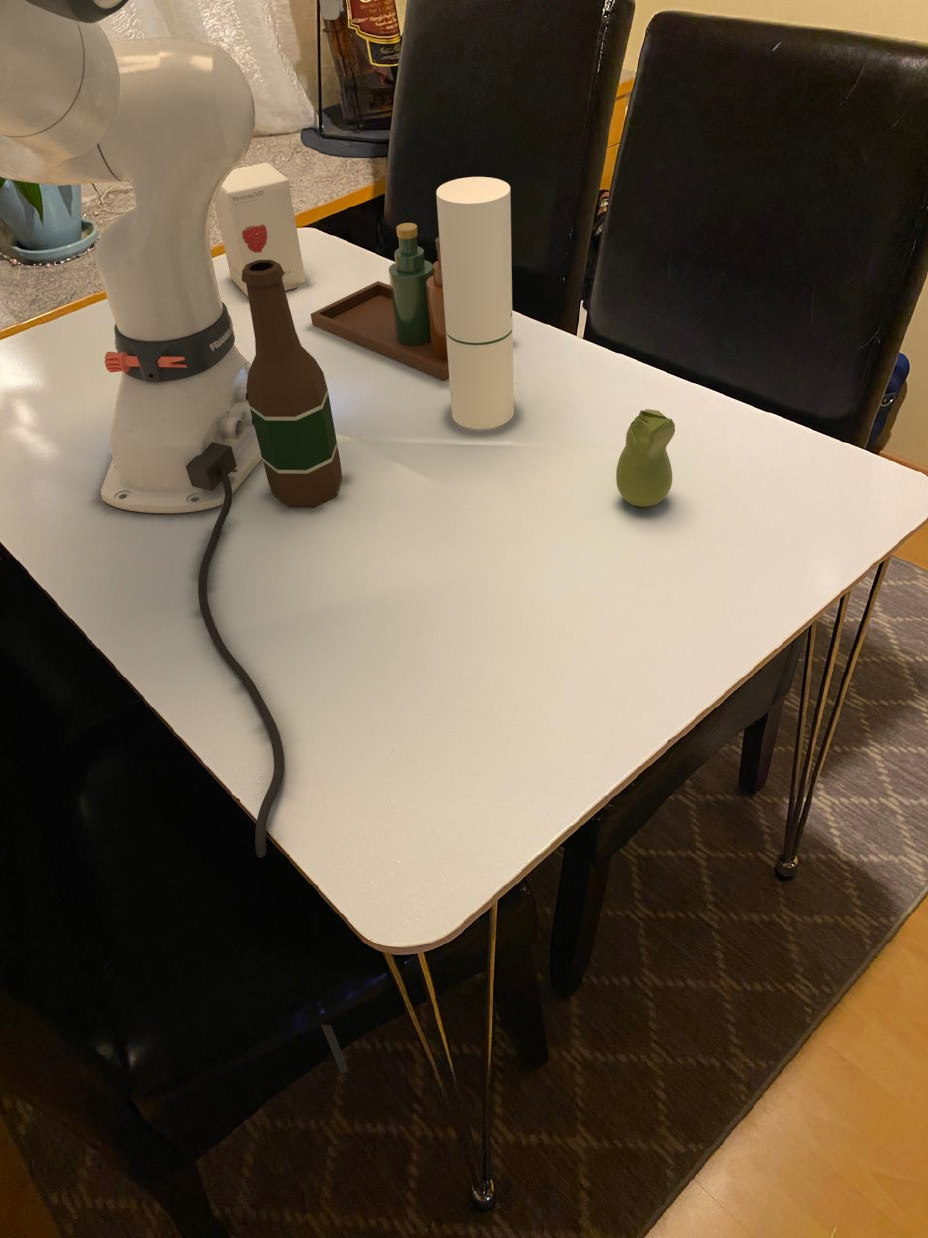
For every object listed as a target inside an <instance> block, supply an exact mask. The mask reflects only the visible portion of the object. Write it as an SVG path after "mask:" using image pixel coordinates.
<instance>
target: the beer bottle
mask: <svg viewBox="0 0 928 1238" xmlns="http://www.w3.org/2000/svg"><path fill="white" fill-rule="evenodd" d="M283 275H284V271H283V269H282V267H281V265H280V264H279V263H277V262H275V261H273V260H257V261H254V262H251V263H248V264H246V265H245V267H244V269H243V270H242V281H243V282H244V283H246V285H247V292H248V297H247V298H248V303H249V310H250V316H251V322H252V327H253V328H252V329H253V335H254V344H255V345H254V347H255V356H254V358H253V360H252V362H251V367H250V370H249V372H248V379H247V386H246V389H247V396H248V402H249V407H250V411H251V415H252V419H253V423H254V427H255V431H256V435H257V439H258V443H259V447H260V451H261V455H262V459H261V460H262V463H263V467H264V471H265V475H266V479H267V483H268V486H269V489H270V492H271V494H272V495H273V496H274V497H275V498H276V499H277V500H278V501H280V502H281V503H282V504H284V505H285V506H286V507H287V508H290V509H291V508H293V509H295V508H297V509H299V508H300V509H301V508H302V509H309V508H310V509H315V508H316V507H319V506H321V505H323V504H324V503H327V502H329V501H331V500H333V499H335V498H337V496H338V494H339V490H340V487H341V483H342V480H343V474H342V473H343V472H342V463H341V457H340V451H339V446H338V439H337V436H336V429H335V423H334V418H333V413H332V412H333V411H332V406H331V401H330V395H329V389H328V385H327V381H326V378H325V373H324V371H323V369H321V366H320V365H319V363H318V361H317V360H316V358H315V357H314V356H313V355H311V353H310V352H308V351H307V350H306V349H305V347H303V346H302V344H301V342H300V338H299V336H298V334H297V330H296V326H295V323H294V320H293V316H292V312H291V308H290V304H289V299H288V297H287V291H285V289H284V285H283V281H282V277H283Z"/></svg>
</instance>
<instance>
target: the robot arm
mask: <svg viewBox="0 0 928 1238" xmlns="http://www.w3.org/2000/svg"><path fill="white" fill-rule="evenodd" d="M129 1H130V0H0V178H3V179H6V180H12V181H18V182H23V183H24V182H25V183H30V184H39V185H47V186H57V187H61V186H77V185H79V186H80V185H90V184H91V185H93V184H105V183H106V184H108V183H129V184H130V185H131V187H132V190H133V193H134V198H135V203H136V204H135V205H136V206H135V207H134V208H132V209H131V210H130V211H127V212H126V213H125V214H123V215H122V216H120V217H118V218H117V220H115V221H114V222H113V223H111V224H110V225H109V226H108V227H107V228H106V229H105V230H104V231H103V232H102V234H100V237H99V239H98V241H97V244H96V247H95V248H96V249H95V255H94V256H95V258H94V259H95V267H96V271H97V273H98V275H99V279H100V282H101V285H102V287H103V291H104V294H105V296H106V298H107V303H108V305H109V308H110V310H111V311H110V312H111V313H112V316H113V319H114V323H115V324H114V326H113V329H114V345H115V350H116V351H107V352H106V353H105V355H104V365H105V368H106V370H107V371H108V372H109V373H117V372H121V375H120V381H119V385H118V389H117V395H116V400H115V406H114V411H113V416H112V421H111V427H110V433H109V438H108V439H109V448H110V452H111V456H112V459H111V462H110V464H109V467H108V470H107V473H106V475H105V477H104V481H103V483H102V485H101V489H100V496H101V499H102V501H103V502H105V503H106V504H108V505H109V506H112V507H115V508H117V509H121V510H125V511H131V512H137V513H151V514H183V513H193V512H200V511H205V510H209V509H212V508H213V509H214V508H216V507H219V506H221V505H222V507H221V510H220V512H219V514H218V517H217V519H216V521H215V524H214V527H213V529H212V533H211V535H210V538H209V541H208V543H207V546H206V548H205V550H204V554H203V556H202V559H201V563H200V567H199V572H198V581H197V582H198V583H197V591H198V592H197V593H198V594H197V595H198V603H199V609H200V612H201V616H202V619H203V621H204V625H205V627H206V629H207V632H208V634H209V636H210V639H211V641H212V643H213V645H214V646H215V648H216V650H217V652H218V653H219V655H220V656H221V657H222V658H223V661H225V662H226V664H227V666H229V667H230V669H231V670H232V671H233V672H234V673H235V674H236V676H237V677H238V678H239V680H240V681H241V683H242V684H243V686H244V688H246V690H247V692H248V694H249V696H250V698H251V700H252V701H253V703H254V706H255V708H256V709H257V711H258V713H259V715H260V717H261V719H262V721H263V723H264V725H265V727H266V730H267V732H268V736H269V739H270V743H271V747H272V754H273V774H272V777H271V781H270V783H269V786H268V789H267V791H266V793H265V795H264V798H263V799H262V802H261V805H260V807H259V810H258V814H257V818H256V823H255V832H254V833H255V834H254V841H255V842H254V844H255V845H254V847H255V856H256V857H258V858H259V859H260V858H263V857H265V856H266V855H267V851H268V849H267V839H266V838H267V826H266V825H267V824H268V819H269V815H270V812H271V810H272V807H273V805H274V803H275V800H276V798H277V795H278V793H279V792H280V788H281V786H282V782H283V779H284V774H285V773H284V772H285V757H284V754H285V753H284V747H283V742H282V739H281V735H280V732H279V729H278V726H277V724H276V722H275V719H274V717H273V716H272V713H271V712H270V710H269V708H268V705H267V704H266V702H265V701H264V700H265V699H264V698H263V696H262V695H261V693H260V691H259V688H258V687H257V686H256V684H255V683H254V681H253V679H252V678H251V676H250V675H249V673H247V671H246V670H245V668H243V666H242V665H241V664H240V663H239V661H238V660H237V658H235V657H234V655H233V654H232V653H231V652H230V651H229V649H228V648H227V646H226V644H225V643H224V641H223V638H222V637H221V635H220V633H219V631H218V628H217V626H216V624H215V621H214V618H213V616H212V612H211V609H210V606H209V599H208V591H207V590H208V586H207V585H208V584H207V582H208V580H207V579H208V571H209V568H210V567H209V566H210V563H211V560H212V557H213V554H214V552H215V550H216V547H217V544H218V542H219V538H220V535H221V533H222V530H223V528H224V524H225V522H226V521H227V518H228V516H229V513H230V511H231V508H232V503H233V494H234V493H235V492H236V491H237V489H238V488H239V487H240V486H241V485H242V483H243V482H244V481H245V480H247V479H246V478H248V476H249V475H250V474H251V473H252V471H253V470H255V468H256V467H257V466H258V465H259V463H260V462H261V460H263V459H262V455H261V451H260V447H259V443H258V439H257V435H256V431H255V427H254V423H253V419H252V415H251V411H250V407H249V402H248V396H247V389H246V386H247V379H248V372H249V370H250V367H251V365H252V363H251V362H250V361H249V360H247V358H246V357H245V356H244V355H243V354H242V352H241V351H240V350H239V349H238V347H237V346H236V345H235V342H236V336H235V331H234V324H233V320H232V317H231V315H230V313H229V310H228V307H227V305H226V303H224V302H223V301H222V297H221V293H220V290H219V285H218V281H217V277H216V271H215V266H214V260H213V254H212V248H211V239H210V225H211V216H212V212H213V207H214V205H215V204H214V201H215V198H216V196H217V194H218V192H219V189H220V187H221V186H222V184H223V182H224V181H225V179H226V178H227V176H228V175H229V174H230V173H231V171H232V170H233V169H236V167H238V165H239V164H240V163H241V162H242V161H243V160H244V158H245V156H246V155H247V153H248V151H249V150H250V146H251V144H252V142H253V138H254V134H255V128H256V108H255V101H254V97H253V96H254V95H253V93H252V89H251V87H250V84H249V82H248V80H247V78H246V76H245V74H244V72H243V70H242V68H241V67H240V65H239V64H238V63H237V61H236V60H235V59H234V58H233V57H232V56H231V54H230V53H229V52H228V51H226V49H224V48H223V47H222V46H221V45H219V44H213V43H209V42H203V41H198V40H192V39H185V38H184V39H183V38H176V37H170V36H163V37H147V38H131V39H119V40H109V38H108V37H107V35H106V33H105V31H104V29H103V28H102V27H101V26H100V24H99V23H98V22H100V21H103V20H104V19H106V18H107V17H109V16H111V15H113V14H115V13H117V12H118V11H120V10H121V9H122V8H123V7H124V6H125V5H127V4H128V2H129ZM319 6H320V14H321V17H322V18H323V19H324V20H326V21H327V20H328V21H329V20H330V21H335V20H337V19H339V18H341V17H343V16H344V14H345V8H344V0H319ZM320 1026H321V1028H322V1031H323V1033H324V1036H325V1038H326V1040H327V1042H328V1045H329V1047H330V1049H331V1052H332V1054H333V1057H334V1059H335V1062H336V1064H337V1067H338V1069H339V1072H340V1073H341V1074H346V1073H347V1072H348V1070H349V1068H348V1065H347V1062H346V1060H345V1057H344V1055H343V1052H342V1050H341V1047H340V1045H339V1042H338V1040H337V1037H336V1034H335V1033H334V1030H333V1028H332V1025H329V1024H320Z"/></svg>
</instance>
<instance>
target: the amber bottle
mask: <svg viewBox="0 0 928 1238" xmlns="http://www.w3.org/2000/svg"><path fill="white" fill-rule="evenodd" d="M435 249H436V250H437V252H436V253H437V261H434V262H433V264H432V266H433V276H431V277H429V278H428V279H427V281H426V288H427V300H428V312H429V324H430V336H431V348H432V354H433V355H434V356H435V357H436V358H438V359H441V360H447V361H448V353H447V338H446V324H445V310H444V296H443V281H442V267H441V253H440V239H439V236H438V237H436V238H435Z"/></svg>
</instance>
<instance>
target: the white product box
mask: <svg viewBox="0 0 928 1238" xmlns="http://www.w3.org/2000/svg"><path fill="white" fill-rule="evenodd" d="M292 199H293V198H292V192H291V188H290V182H289V179H288V178H287V177H286V176H285V175H284V174H282V173H281V172H279V171H278V170H277V169H276V168H275V167H274V166H272V164H270V163H269V162H268V161H267V162H261V163H257V164H252V165H248V166H242V167H237V168H236V167H235V168H234V169H233V170H232V171H231V173H230V174H229V175H228V176H227V178H226V179H225V181H224V182H223V184H222V186H221V187H220V189H219V192H218V194H217V196H216V198H215V201H214V204H213V205H214V208H215V213H216V217H217V221H218V227H219V231H220V234H221V239H222V243H223V248H224V252H225V257H226V262H227V266H228V270H229V275H230V278H231V280H232V281H233V282H234V283H235V285H236V286H237V287H238V288H239V289H240V290H241V291H242V292H243V294H244V295H245V296H246V297H247V298H248V292H247V285H246V283H244V282H243V281H242V270H243V269H244V267H245V265H246V264H248V263H251V262H254V261H257V260H273V261H275V262H277V263H279V264H280V265H281V267H282V269H283V271H284V275H283V277H282V281H283V285H284V289H285V292H287V291H290V290H294V289H297V288H299V287H300V285H301V284H304V283H307V281H306V275H305V268H304V263H303V258H302V252H301V251H302V250H301V246H300V240H299V233H298V229H297V223H296V217H295V211H294V205H293V200H292Z"/></svg>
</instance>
